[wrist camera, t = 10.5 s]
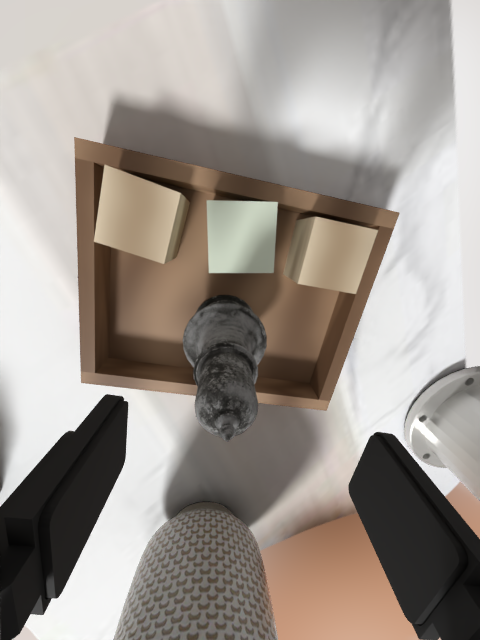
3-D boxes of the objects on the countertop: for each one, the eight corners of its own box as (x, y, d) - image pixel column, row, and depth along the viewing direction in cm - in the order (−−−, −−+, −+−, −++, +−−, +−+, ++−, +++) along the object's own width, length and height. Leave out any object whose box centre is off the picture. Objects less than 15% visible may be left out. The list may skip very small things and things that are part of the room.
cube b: (265, 208, 17) (277, 201, 14) (263, 265, 19) (273, 273, 15) (210, 207, 17) (206, 200, 13) (211, 265, 18) (208, 272, 15)
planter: (206, 569, 32) (195, 772, 20) (120, 525, 28) (43, 745, 16) (284, 516, 30) (327, 711, 18) (202, 459, 26) (185, 661, 14)
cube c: (190, 202, 17) (180, 193, 13) (176, 257, 18) (164, 264, 14) (131, 180, 16) (104, 164, 12) (121, 239, 17) (93, 241, 14)
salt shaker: (255, 285, 19) (301, 357, 8) (263, 350, 21) (309, 483, 10) (182, 297, 19) (123, 386, 8) (197, 361, 21) (168, 507, 10)
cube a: (346, 231, 18) (378, 230, 15) (330, 282, 20) (355, 294, 16) (296, 220, 18) (315, 216, 14) (283, 274, 19) (297, 283, 15)
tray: (372, 216, 19) (399, 212, 16) (314, 389, 24) (326, 410, 21) (100, 154, 16) (74, 137, 13) (100, 363, 21) (81, 382, 18)
